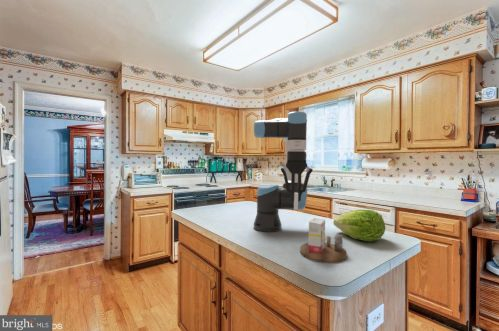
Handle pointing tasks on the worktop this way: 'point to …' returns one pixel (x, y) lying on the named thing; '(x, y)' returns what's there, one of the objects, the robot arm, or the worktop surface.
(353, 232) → the lettuce
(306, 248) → the disc
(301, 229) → the worktop surface
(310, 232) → the ink box
